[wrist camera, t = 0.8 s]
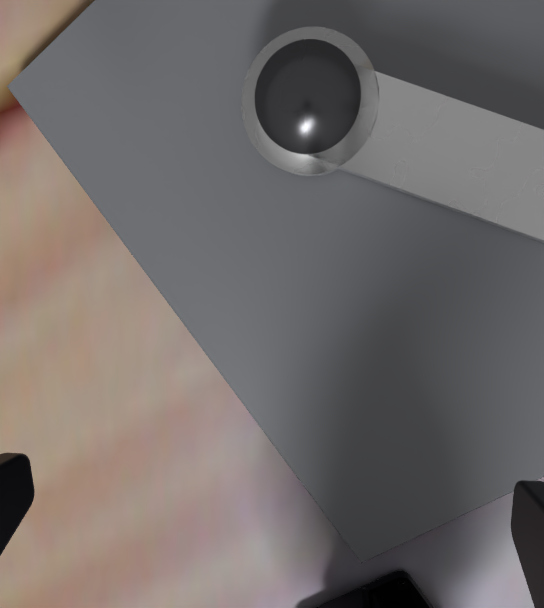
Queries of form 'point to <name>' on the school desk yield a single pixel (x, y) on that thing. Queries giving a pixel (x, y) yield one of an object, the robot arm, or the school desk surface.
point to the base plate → (321, 246)
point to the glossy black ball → (307, 96)
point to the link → (420, 144)
